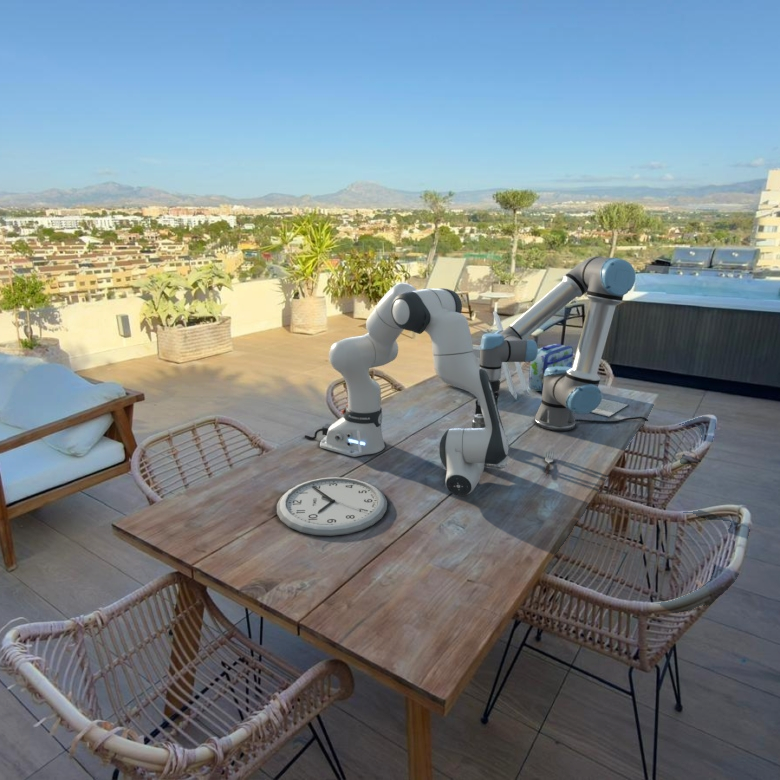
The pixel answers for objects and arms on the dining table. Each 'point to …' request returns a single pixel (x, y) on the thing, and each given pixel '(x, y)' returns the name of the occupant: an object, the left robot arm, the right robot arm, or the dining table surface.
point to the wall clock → (331, 506)
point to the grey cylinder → (478, 421)
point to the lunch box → (548, 363)
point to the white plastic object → (504, 365)
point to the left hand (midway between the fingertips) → (478, 445)
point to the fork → (548, 462)
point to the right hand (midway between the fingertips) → (483, 441)
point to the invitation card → (608, 407)
